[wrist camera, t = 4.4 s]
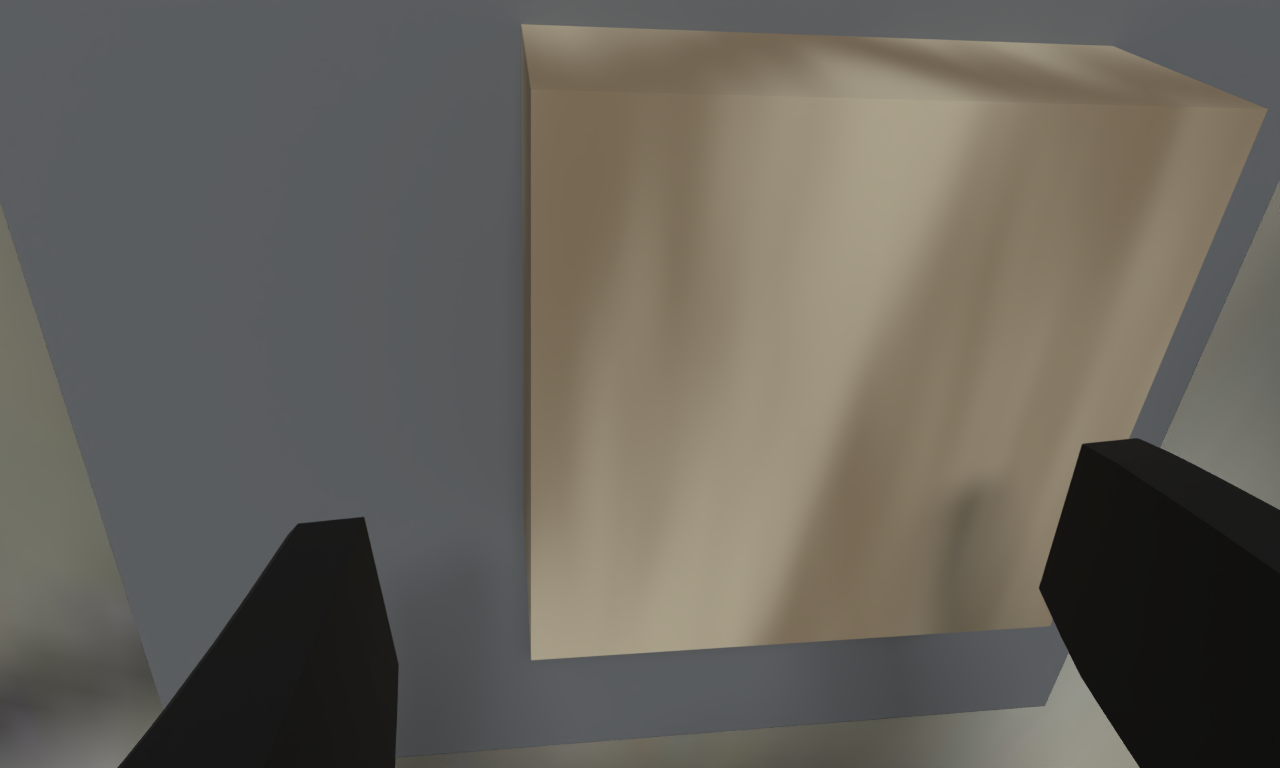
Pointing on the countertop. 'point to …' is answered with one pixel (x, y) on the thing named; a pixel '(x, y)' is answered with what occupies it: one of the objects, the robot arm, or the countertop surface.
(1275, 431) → the countertop surface
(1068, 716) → the countertop surface
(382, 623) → the robot arm
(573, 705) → the mat
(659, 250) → the tan flat block
